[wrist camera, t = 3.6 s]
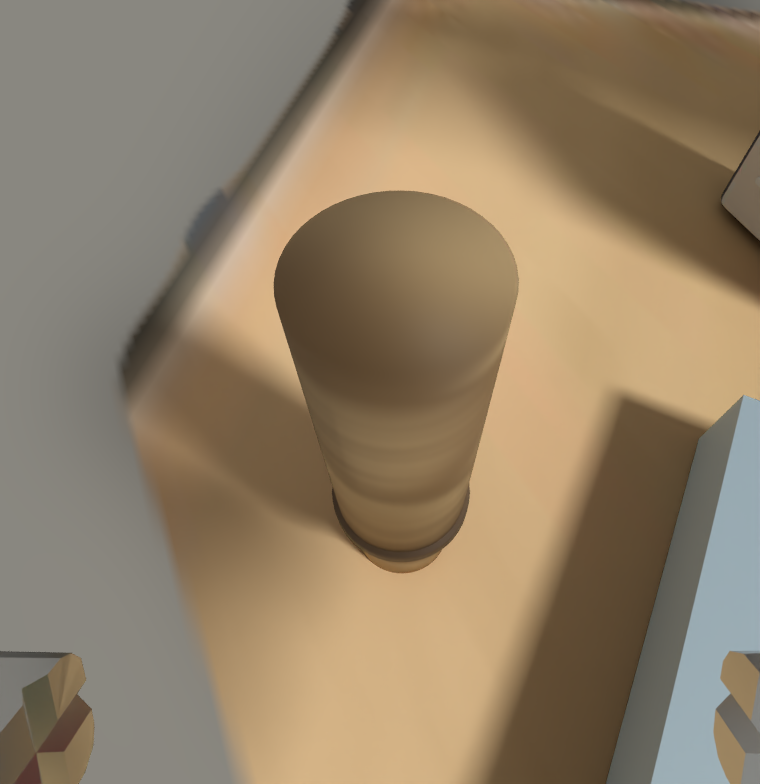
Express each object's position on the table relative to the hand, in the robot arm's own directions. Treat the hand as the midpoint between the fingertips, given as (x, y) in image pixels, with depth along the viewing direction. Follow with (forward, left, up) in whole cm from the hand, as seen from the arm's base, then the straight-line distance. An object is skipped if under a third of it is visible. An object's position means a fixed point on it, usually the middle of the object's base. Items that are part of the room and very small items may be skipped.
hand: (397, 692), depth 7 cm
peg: (-5, -3, -13) cm, 14 cm away
